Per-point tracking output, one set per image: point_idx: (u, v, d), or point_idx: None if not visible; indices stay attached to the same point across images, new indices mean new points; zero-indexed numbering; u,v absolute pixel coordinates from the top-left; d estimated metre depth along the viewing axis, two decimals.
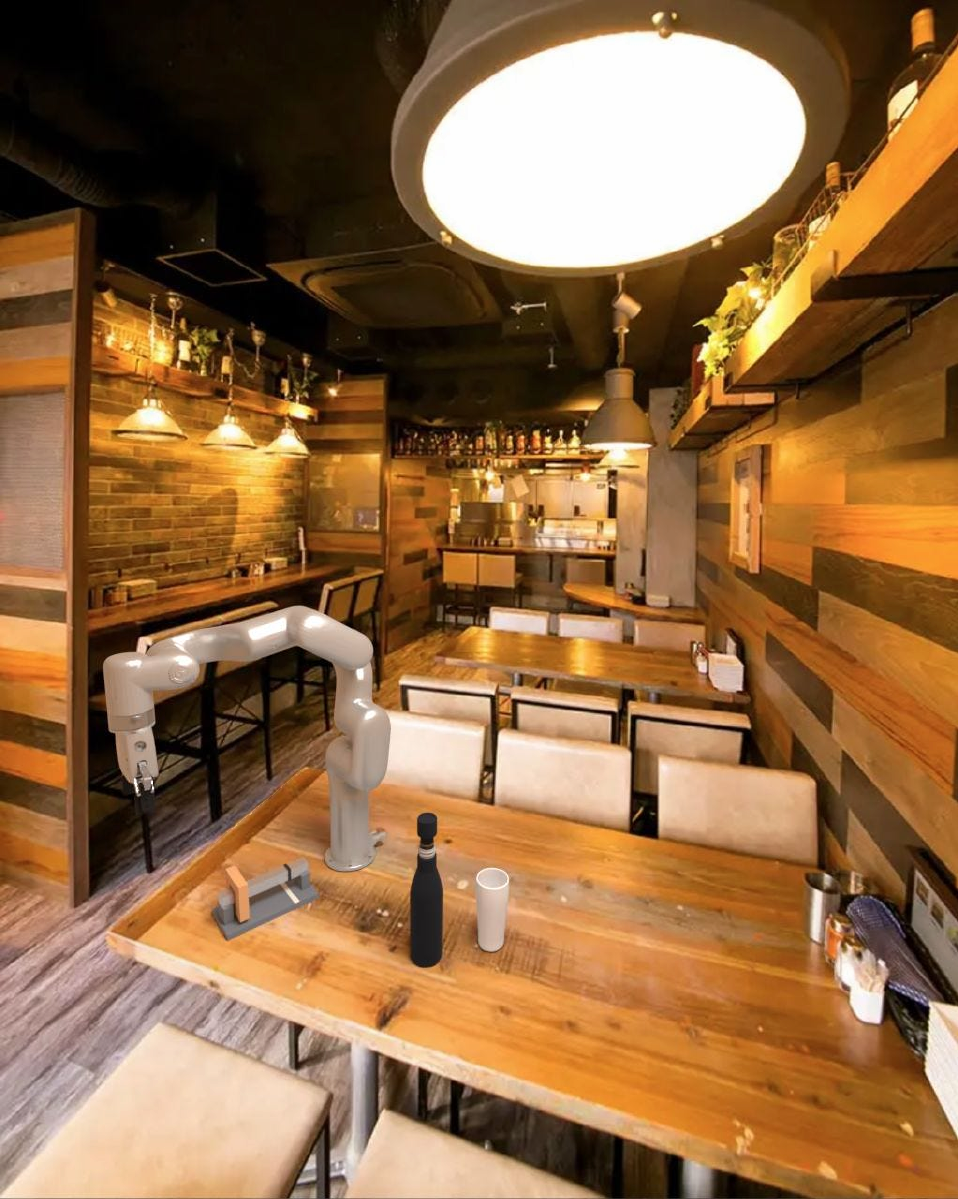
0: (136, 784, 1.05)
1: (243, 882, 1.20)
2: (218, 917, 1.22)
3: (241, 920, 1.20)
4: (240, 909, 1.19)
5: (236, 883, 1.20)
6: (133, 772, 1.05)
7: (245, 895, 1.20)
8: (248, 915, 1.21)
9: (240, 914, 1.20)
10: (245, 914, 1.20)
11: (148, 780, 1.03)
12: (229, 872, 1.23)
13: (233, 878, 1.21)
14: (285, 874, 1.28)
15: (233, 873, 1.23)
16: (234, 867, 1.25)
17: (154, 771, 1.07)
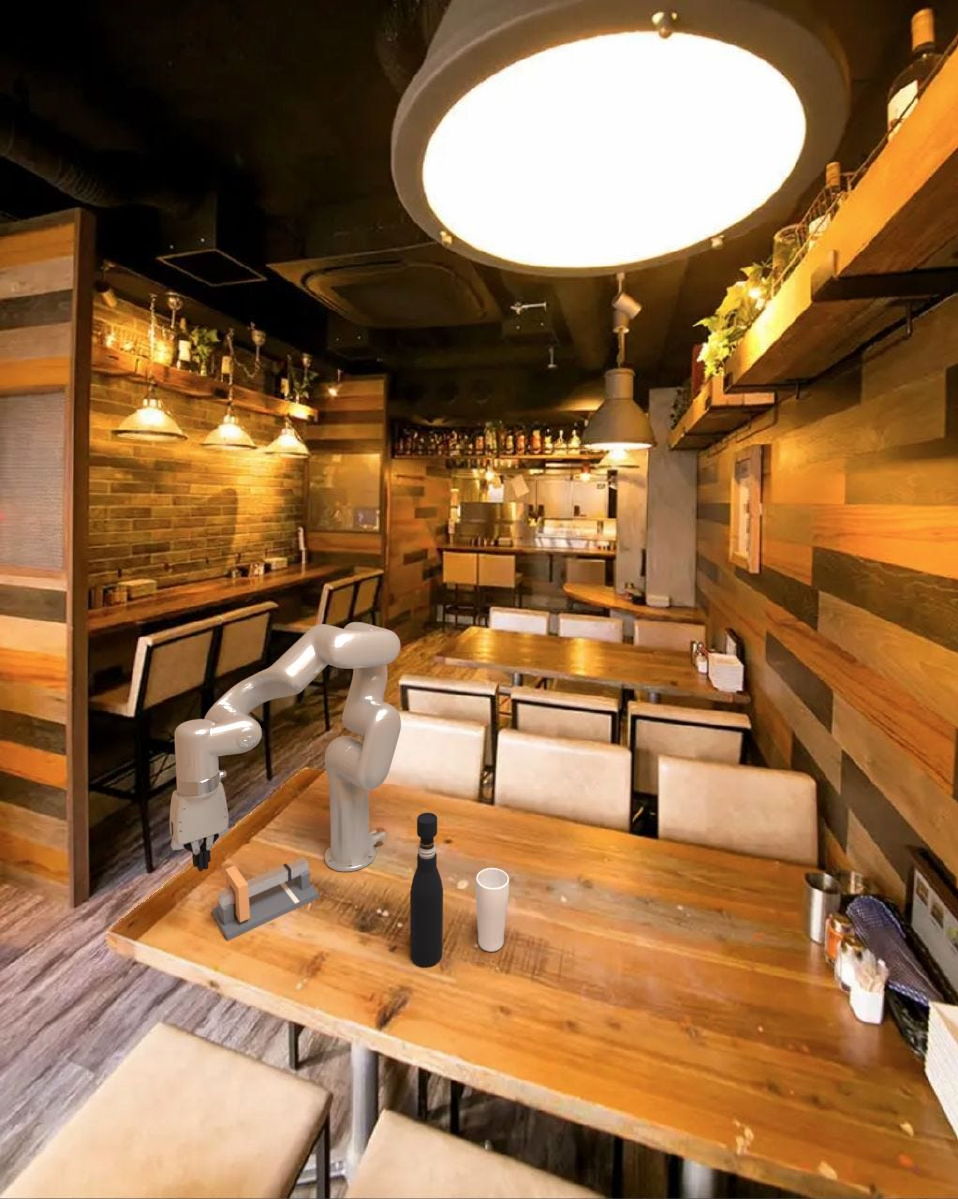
0: None
1: (243, 882, 1.20)
2: (218, 917, 1.22)
3: (241, 920, 1.20)
4: (240, 909, 1.19)
5: (236, 883, 1.20)
6: None
7: (245, 895, 1.20)
8: (248, 915, 1.21)
9: (240, 914, 1.20)
10: (245, 914, 1.20)
11: None
12: (229, 872, 1.23)
13: (233, 878, 1.21)
14: (285, 874, 1.28)
15: (233, 873, 1.23)
16: (234, 867, 1.25)
17: None
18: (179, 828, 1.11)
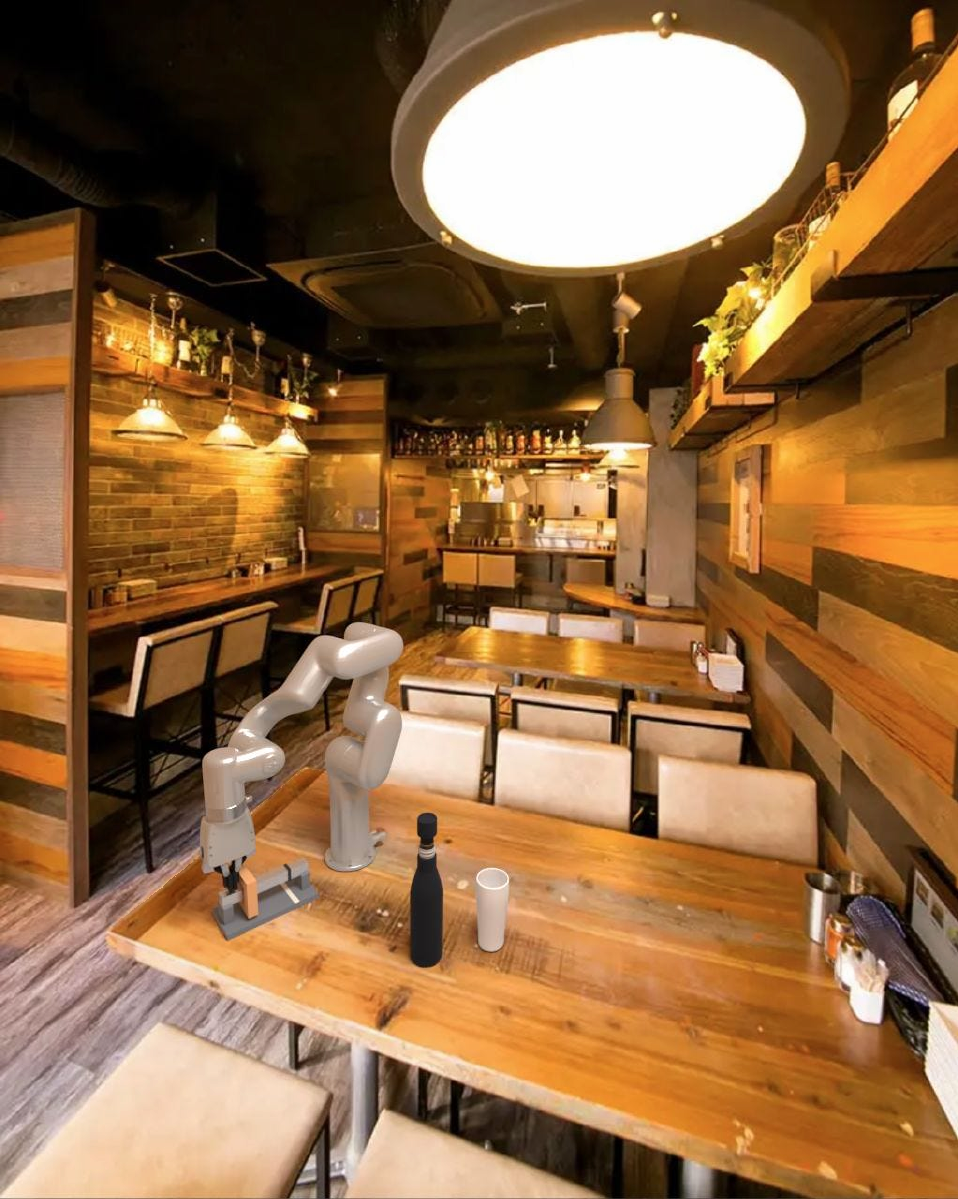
0: None
1: (251, 878, 1.21)
2: (218, 917, 1.22)
3: (249, 916, 1.21)
4: (249, 905, 1.21)
5: (245, 879, 1.21)
6: None
7: (253, 891, 1.21)
8: (256, 911, 1.22)
9: (249, 910, 1.21)
10: (253, 910, 1.21)
11: None
12: None
13: (241, 875, 1.23)
14: (285, 874, 1.28)
15: (241, 870, 1.24)
16: None
17: None
18: (209, 853, 1.15)
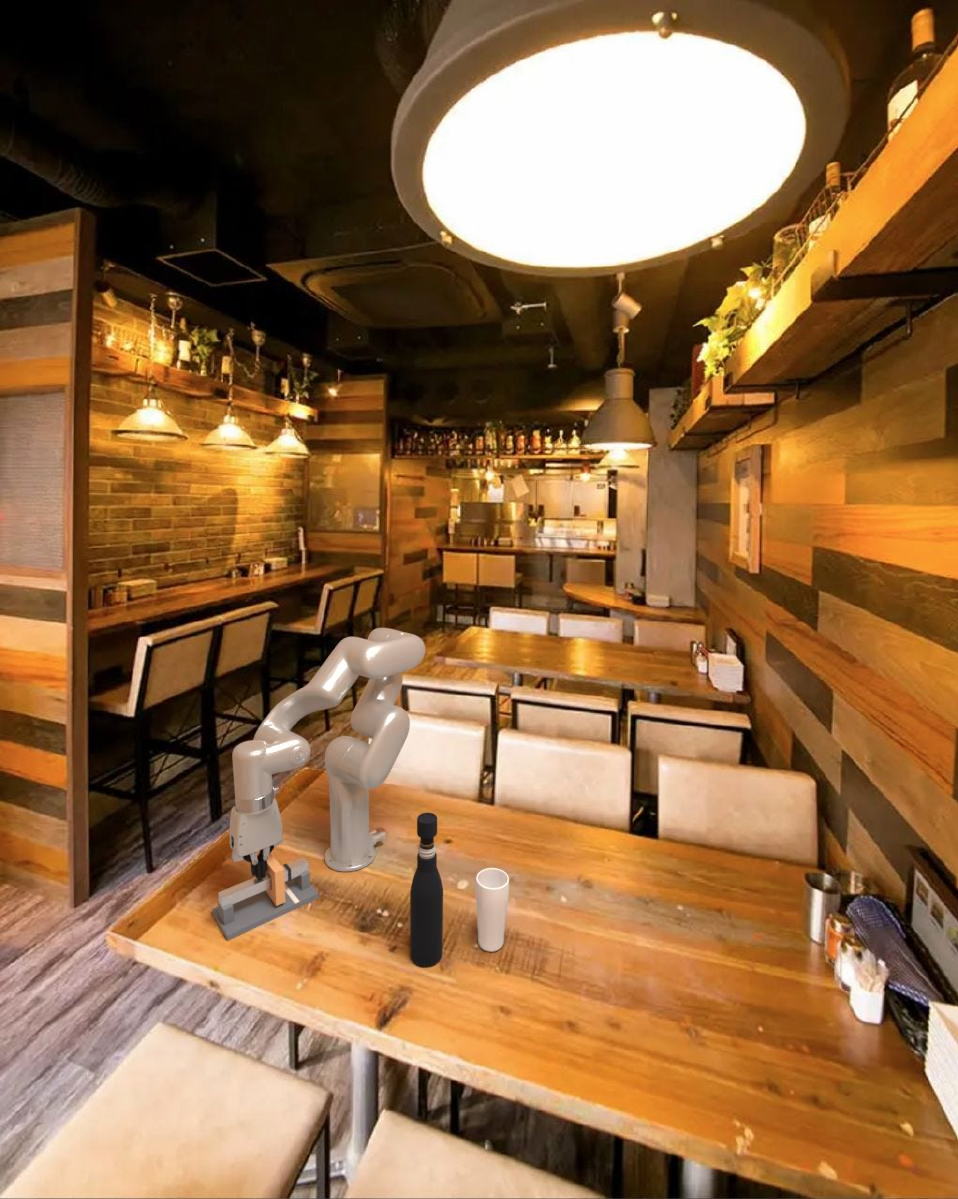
0: None
1: (279, 867, 1.25)
2: (218, 917, 1.22)
3: (277, 904, 1.25)
4: (276, 893, 1.24)
5: (272, 868, 1.25)
6: None
7: (281, 879, 1.25)
8: (284, 899, 1.26)
9: (276, 898, 1.25)
10: (281, 898, 1.25)
11: None
12: None
13: (269, 863, 1.26)
14: (285, 874, 1.28)
15: (269, 859, 1.28)
16: None
17: None
18: (239, 842, 1.19)
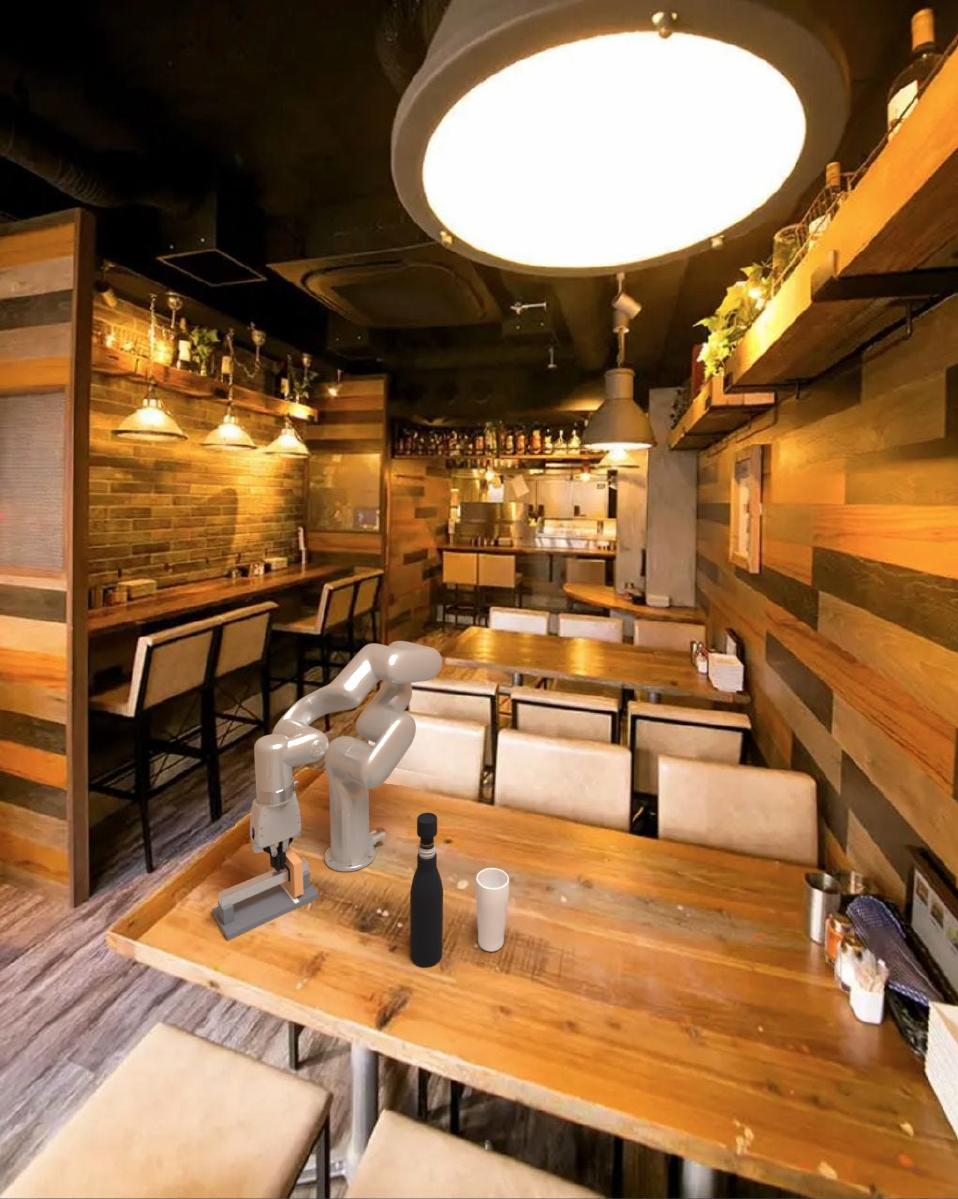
0: None
1: (297, 859, 1.28)
2: (218, 917, 1.22)
3: (295, 895, 1.28)
4: (295, 885, 1.27)
5: (291, 860, 1.28)
6: None
7: (299, 871, 1.27)
8: (302, 891, 1.29)
9: (295, 889, 1.27)
10: (299, 890, 1.28)
11: None
12: None
13: (288, 856, 1.29)
14: (285, 874, 1.28)
15: (287, 851, 1.31)
16: None
17: None
18: (260, 833, 1.22)
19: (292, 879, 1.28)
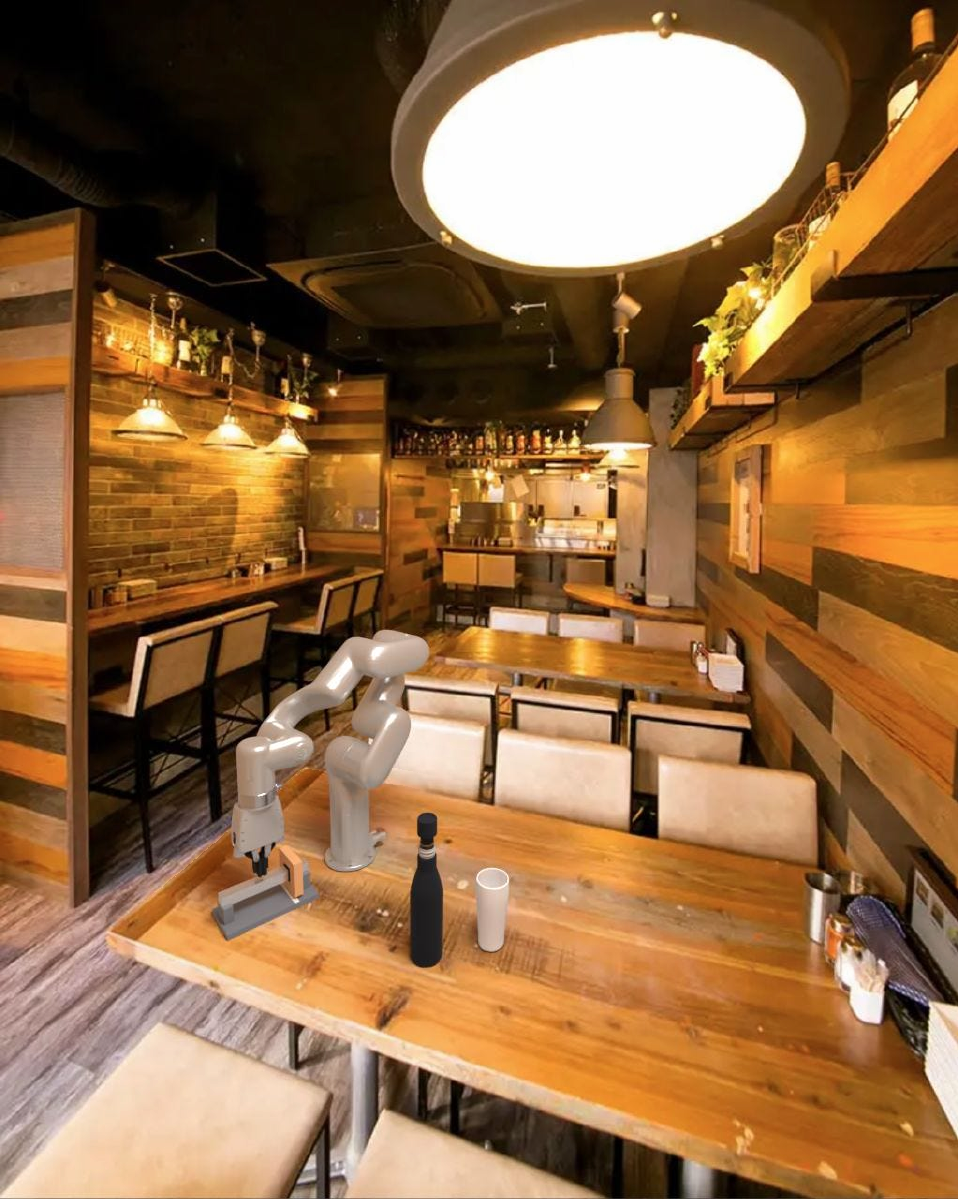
0: None
1: (297, 859, 1.28)
2: (218, 917, 1.22)
3: (295, 895, 1.28)
4: (295, 885, 1.27)
5: (291, 860, 1.28)
6: None
7: (299, 871, 1.27)
8: (302, 891, 1.29)
9: (295, 889, 1.27)
10: (299, 890, 1.28)
11: None
12: (283, 851, 1.31)
13: (288, 856, 1.29)
14: (285, 874, 1.28)
15: (287, 851, 1.31)
16: (287, 846, 1.33)
17: None
18: (241, 838, 1.19)
19: (292, 879, 1.28)
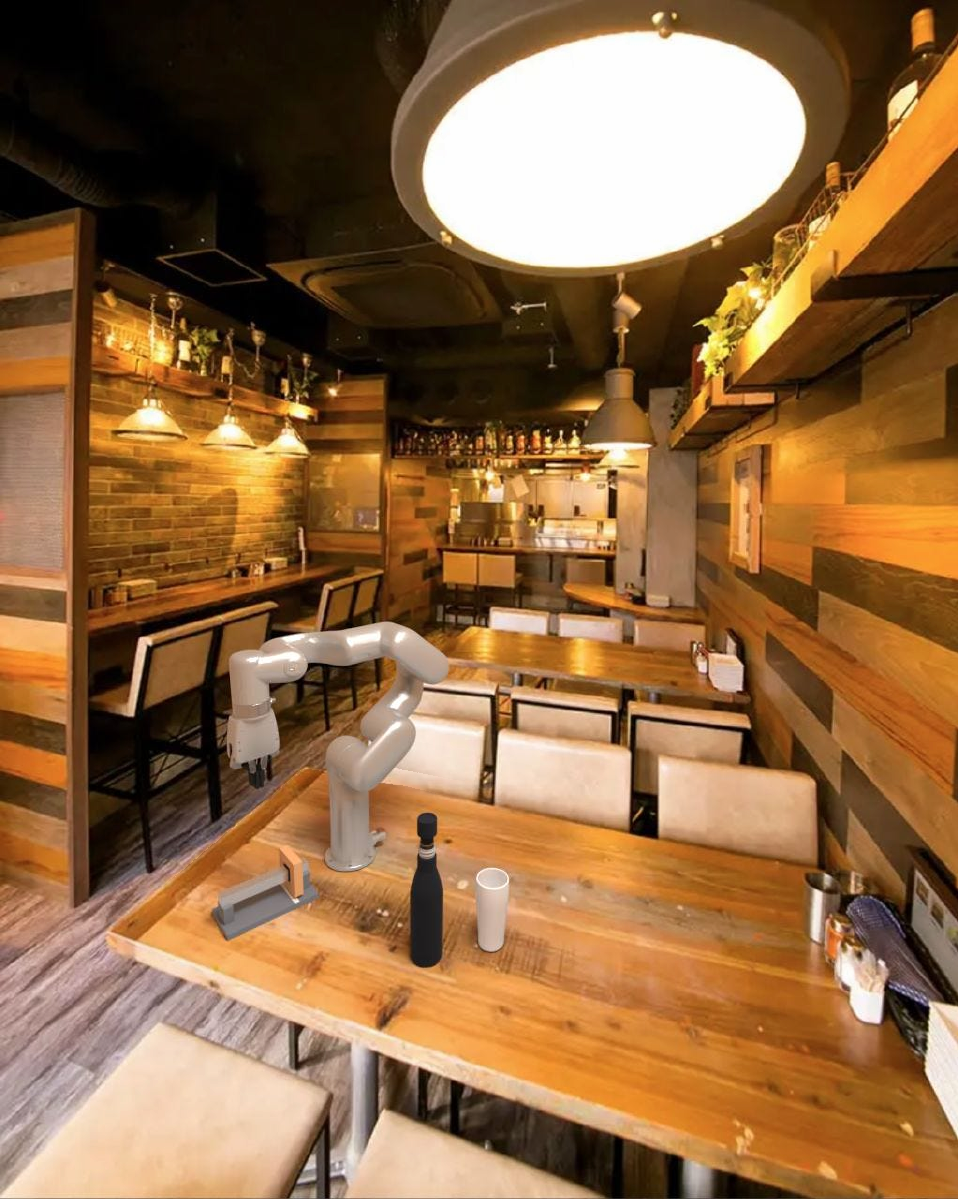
0: None
1: (297, 859, 1.28)
2: (218, 917, 1.22)
3: (295, 895, 1.28)
4: (295, 885, 1.27)
5: (291, 860, 1.28)
6: None
7: (299, 871, 1.27)
8: (302, 891, 1.29)
9: (295, 889, 1.27)
10: (299, 890, 1.28)
11: None
12: (283, 851, 1.31)
13: (288, 856, 1.29)
14: (285, 874, 1.28)
15: (287, 851, 1.31)
16: (287, 846, 1.33)
17: None
18: (238, 748, 1.21)
19: (292, 879, 1.28)
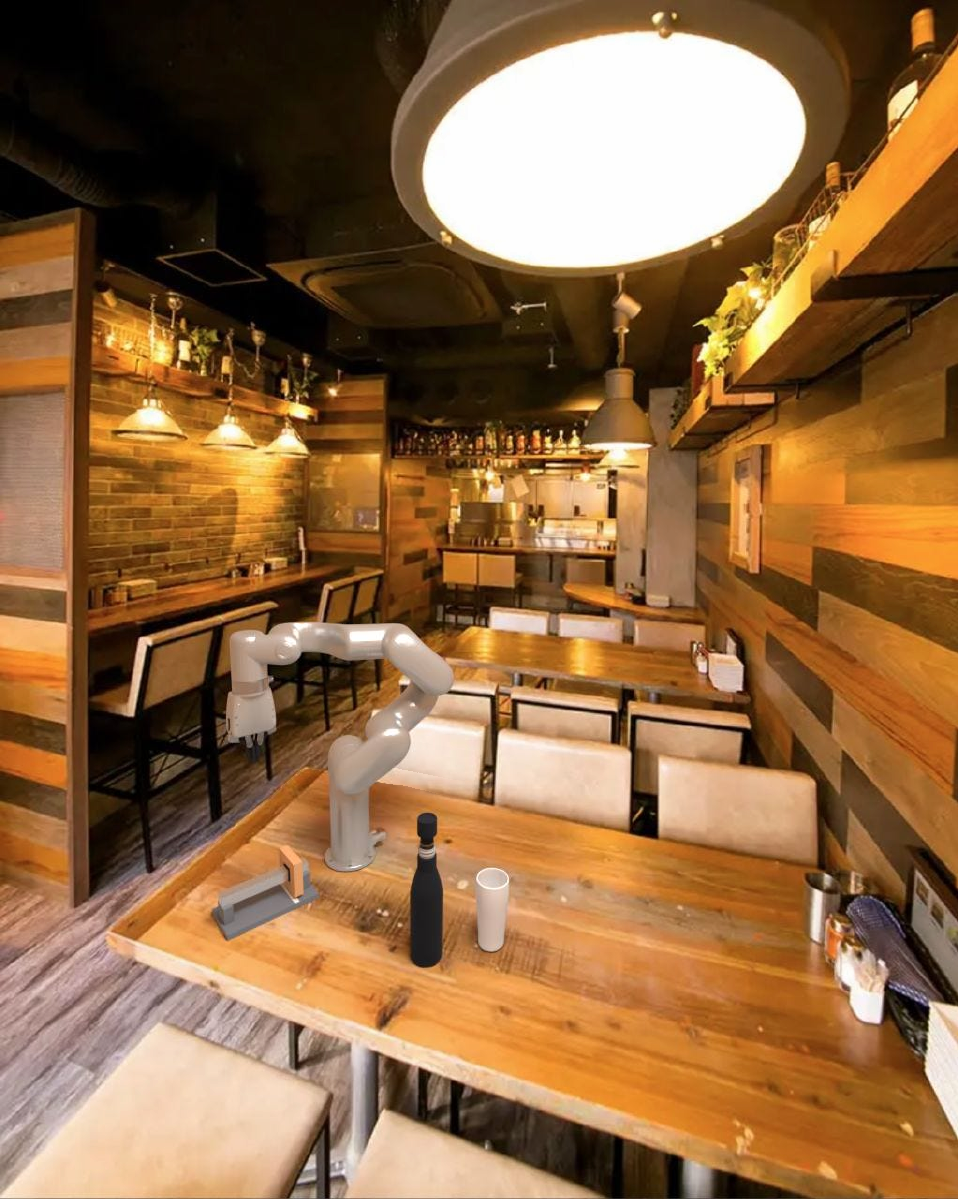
0: None
1: (297, 859, 1.28)
2: (218, 917, 1.22)
3: (295, 895, 1.28)
4: (295, 885, 1.27)
5: (291, 860, 1.28)
6: None
7: (299, 871, 1.27)
8: (302, 891, 1.29)
9: (295, 889, 1.27)
10: (299, 890, 1.28)
11: None
12: (283, 851, 1.31)
13: (288, 856, 1.29)
14: (285, 874, 1.28)
15: (287, 851, 1.31)
16: (287, 846, 1.33)
17: None
18: (235, 722, 1.27)
19: (292, 879, 1.28)
